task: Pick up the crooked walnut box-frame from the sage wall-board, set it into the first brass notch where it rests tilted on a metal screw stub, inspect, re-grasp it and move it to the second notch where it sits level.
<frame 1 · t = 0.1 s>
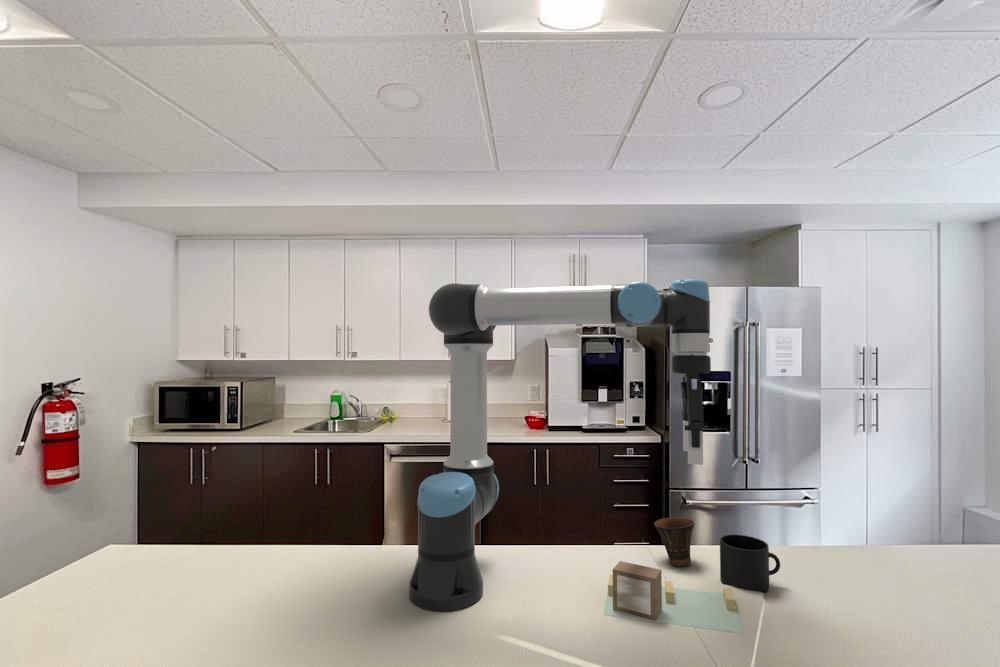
hand: (692, 457, 107), 28 cm above the countertop, fingers open, 13 cm apart
mug: (750, 586, 110), on the countertop
wall board: (669, 609, 100), on the countertop
cup: (674, 563, 122), on the countertop
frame: (637, 609, 97), point 1 cm above the countertop, touching wall board
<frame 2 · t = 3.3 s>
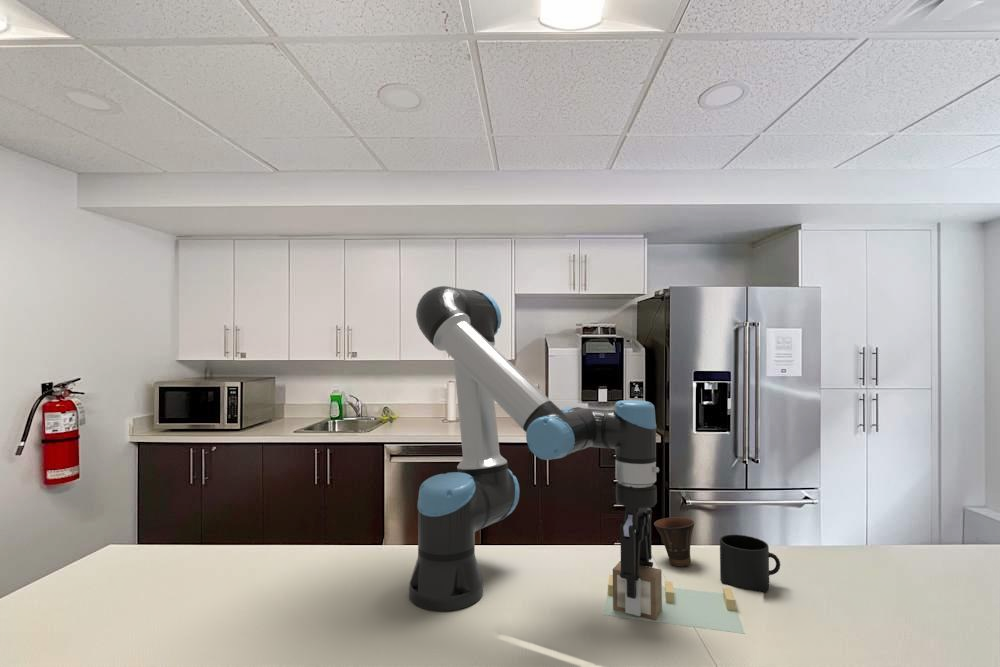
hand: (637, 607, 97), 2 cm above the countertop, fingers closed on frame, 5 cm apart
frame: (637, 609, 97), point 1 cm above the countertop, touching gripper, wall board
everything else where it was.
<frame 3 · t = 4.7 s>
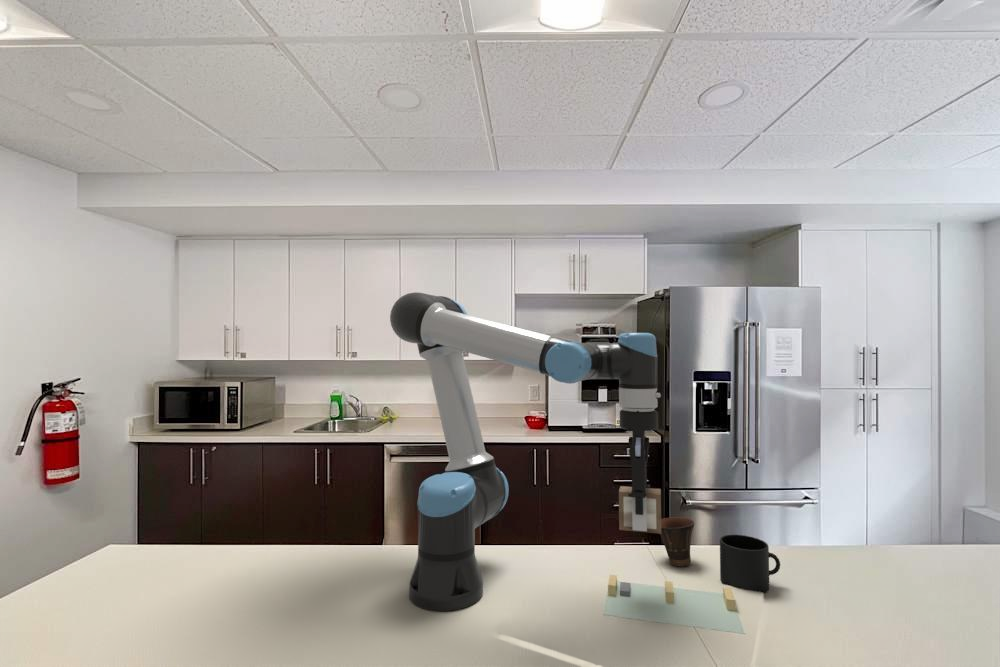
hand: (640, 525, 104), 15 cm above the countertop, fingers closed on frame, 5 cm apart
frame: (640, 528, 104), point 14 cm above the countertop, touching gripper
everything else where it was.
when the fingers open (3 cm above the countertop, at t = 6.3 s): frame stays where it is, resting on wall board.
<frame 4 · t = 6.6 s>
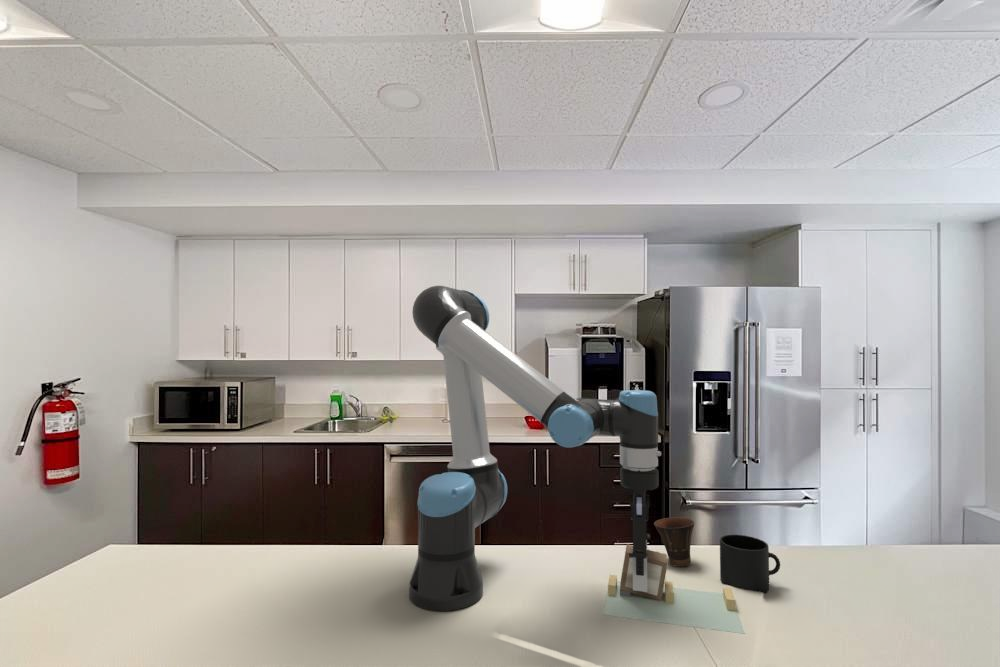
hand: (640, 580, 104), 4 cm above the countertop, fingers open, 8 cm apart
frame: (640, 590, 104), point 2 cm above the countertop, tilted 10°, touching wall board
everything else where it was.
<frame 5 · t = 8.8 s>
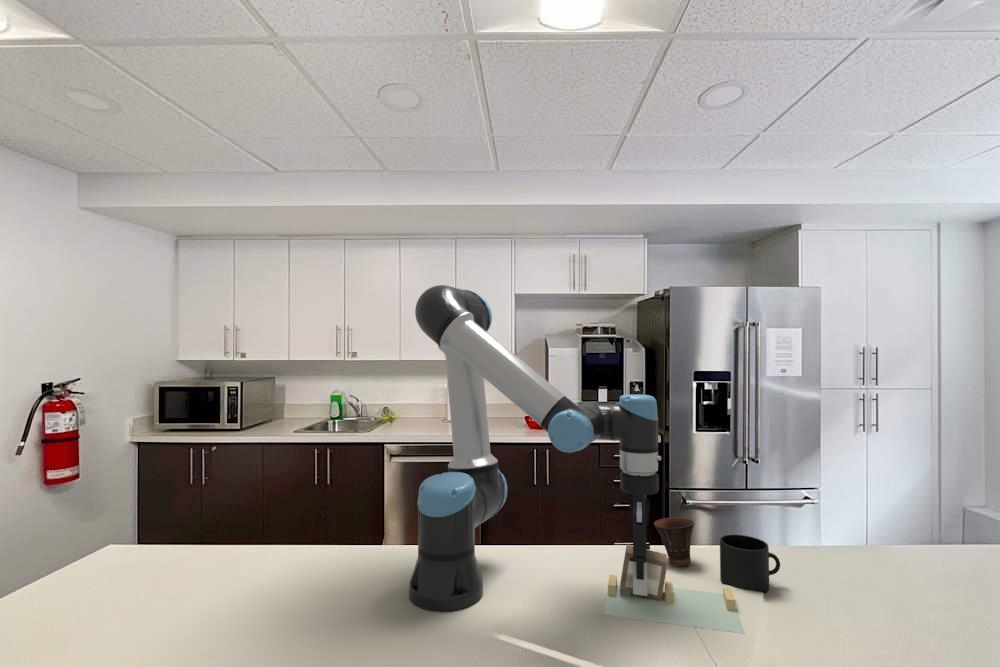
hand: (640, 587, 104), 2 cm above the countertop, fingers closed on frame, 5 cm apart
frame: (640, 589, 104), point 2 cm above the countertop, tilted 10°, touching gripper, wall board
everything else where it was.
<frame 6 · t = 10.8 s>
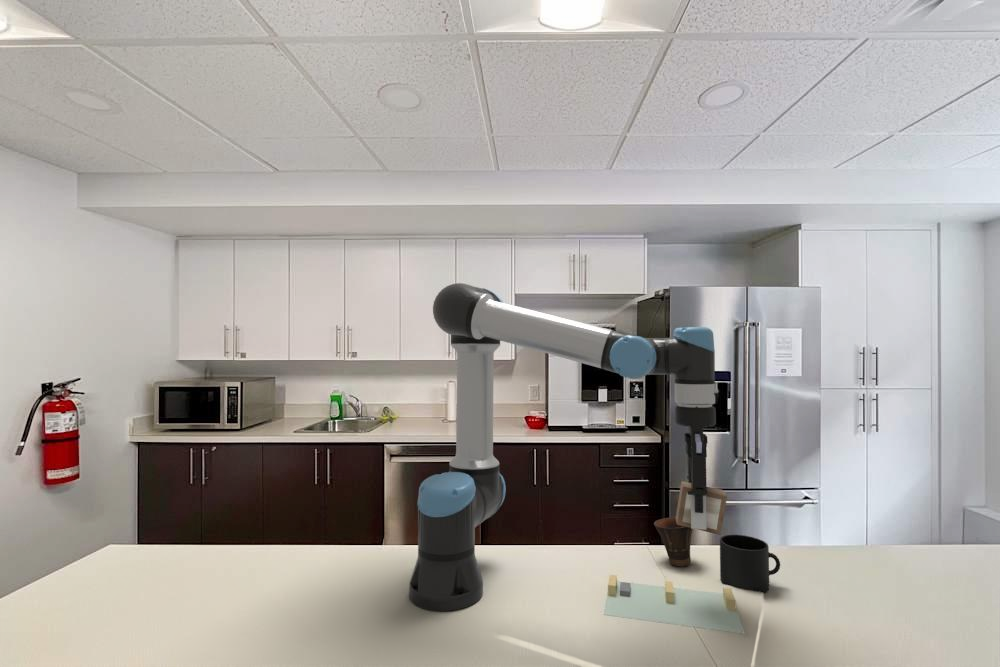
hand: (697, 523, 101), 16 cm above the countertop, fingers closed on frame, 5 cm apart
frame: (697, 526, 102), point 15 cm above the countertop, tilted 9°, touching gripper
everything else where it was.
when the fingers open (3 cm above the countertop, at t = 12.9 s): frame drops 2 cm, resting on wall board.
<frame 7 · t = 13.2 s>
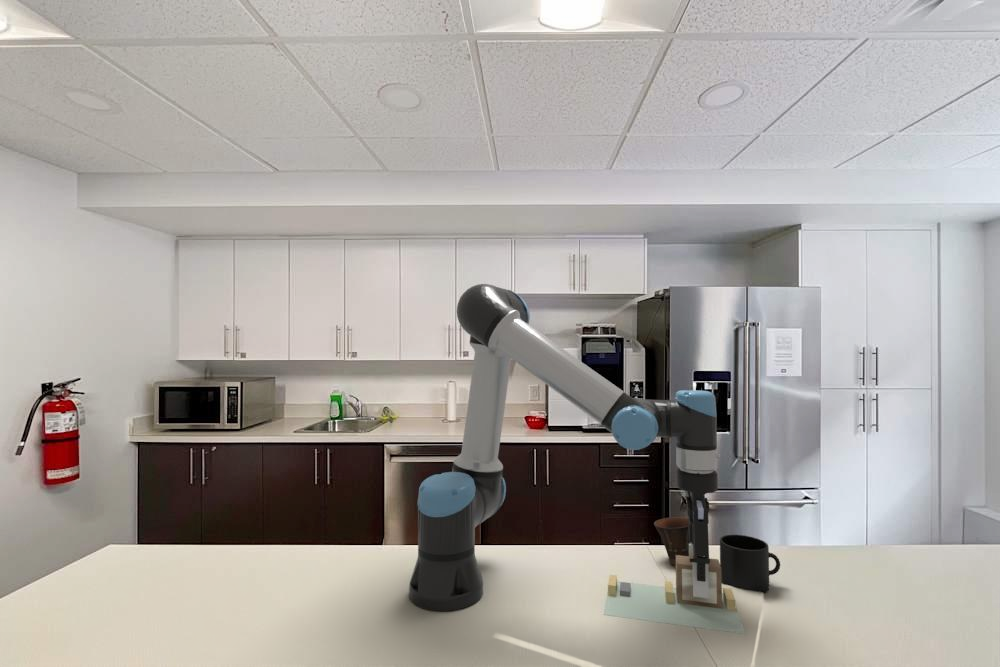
hand: (698, 586, 101), 4 cm above the countertop, fingers open, 8 cm apart
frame: (698, 600, 101), point 1 cm above the countertop, touching wall board
everything else where it was.
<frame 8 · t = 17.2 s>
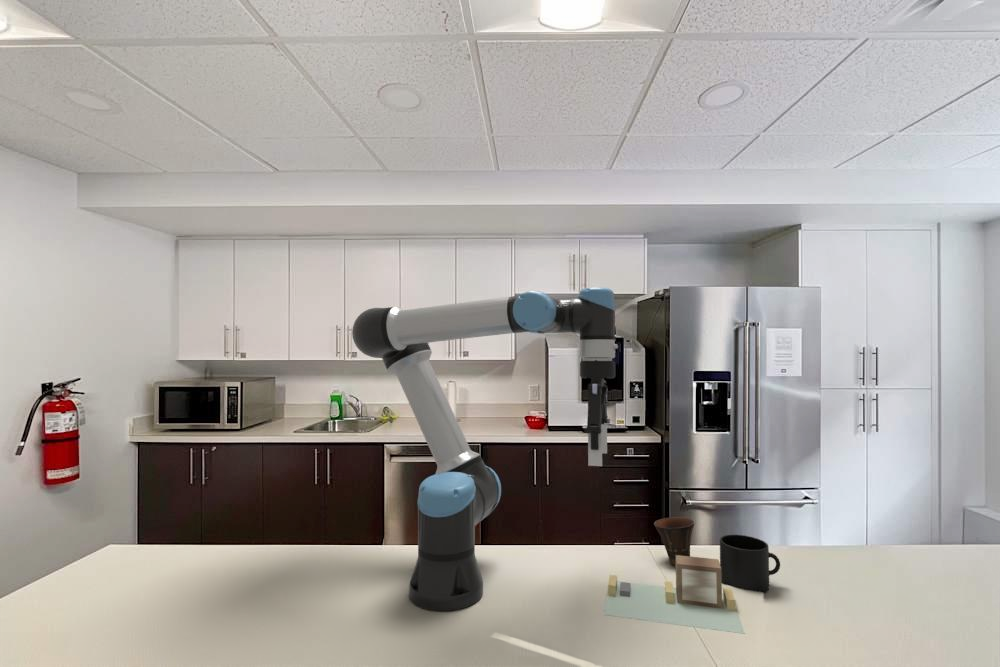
hand: (598, 459, 111), 27 cm above the countertop, fingers open, 13 cm apart
nothing on the countertop moved.
at the end: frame 0.1 cm from the target spot, point 1.0 cm above the countertop; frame tilted 0°; the gripper is holding nothing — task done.
